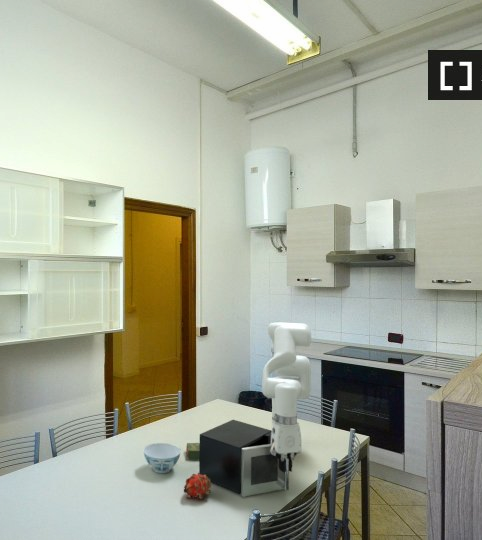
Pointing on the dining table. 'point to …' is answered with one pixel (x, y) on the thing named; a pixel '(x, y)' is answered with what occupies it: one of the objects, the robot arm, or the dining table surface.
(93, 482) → the dining table surface
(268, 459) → the microwave door
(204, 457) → the microwave
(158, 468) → the chinaware
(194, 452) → the carton
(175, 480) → the dining table surface
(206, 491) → the dragon fruit
